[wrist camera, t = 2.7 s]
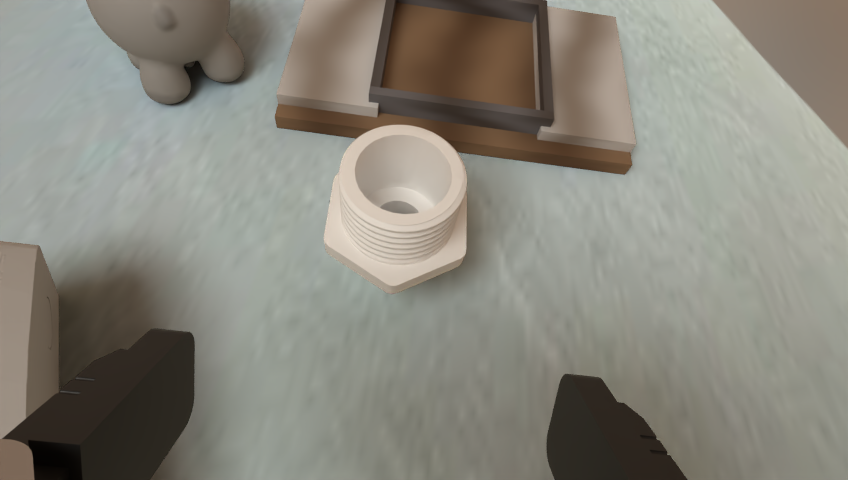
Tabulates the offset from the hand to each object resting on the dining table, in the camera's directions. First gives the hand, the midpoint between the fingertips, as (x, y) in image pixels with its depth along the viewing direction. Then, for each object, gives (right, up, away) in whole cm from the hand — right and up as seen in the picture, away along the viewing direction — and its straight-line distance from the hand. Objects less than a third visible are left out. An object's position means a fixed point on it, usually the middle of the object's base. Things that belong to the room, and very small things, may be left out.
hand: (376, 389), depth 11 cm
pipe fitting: (-1, +2, +16) cm, 17 cm away
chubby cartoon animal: (-15, +16, +22) cm, 32 cm away
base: (+4, +15, +24) cm, 28 cm away
